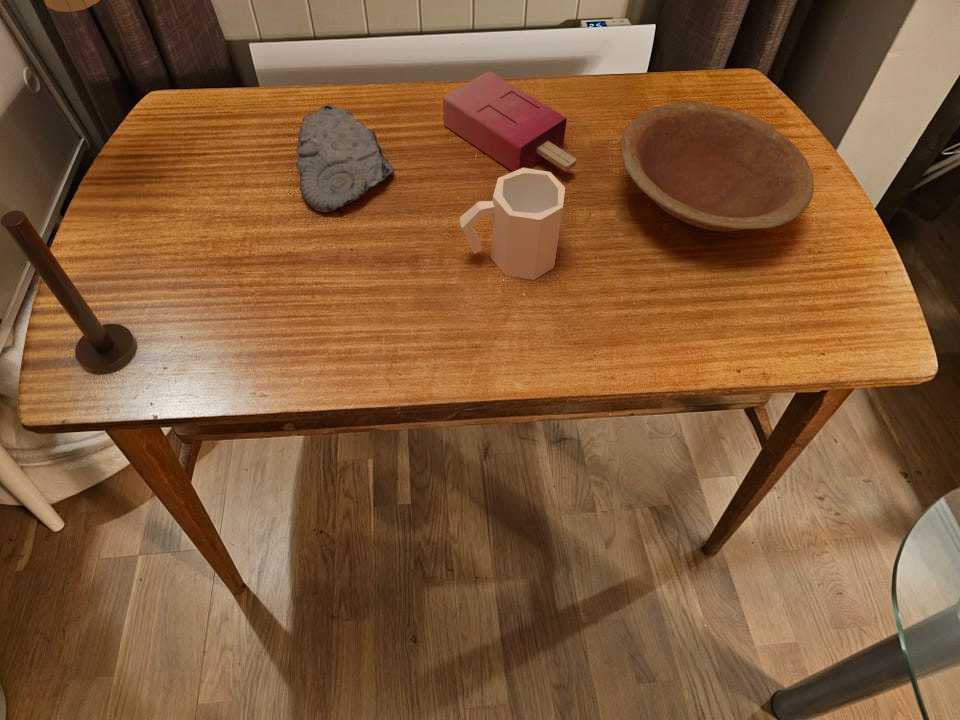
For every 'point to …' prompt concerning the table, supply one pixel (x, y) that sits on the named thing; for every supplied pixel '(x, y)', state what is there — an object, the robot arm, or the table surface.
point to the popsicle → (507, 123)
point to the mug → (521, 222)
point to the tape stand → (73, 302)
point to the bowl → (716, 167)
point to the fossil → (337, 159)
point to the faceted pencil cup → (69, 4)
